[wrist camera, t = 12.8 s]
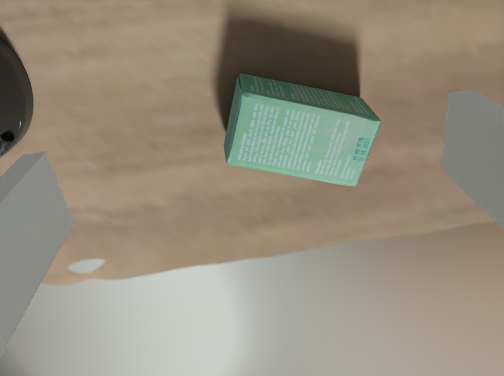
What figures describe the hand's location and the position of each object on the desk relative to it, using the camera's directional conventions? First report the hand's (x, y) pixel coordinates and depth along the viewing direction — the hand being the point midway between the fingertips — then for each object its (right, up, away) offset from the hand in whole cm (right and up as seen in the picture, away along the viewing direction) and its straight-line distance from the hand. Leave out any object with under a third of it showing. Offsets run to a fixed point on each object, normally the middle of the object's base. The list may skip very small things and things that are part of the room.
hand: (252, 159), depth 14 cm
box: (+4, +7, +32) cm, 33 cm away
